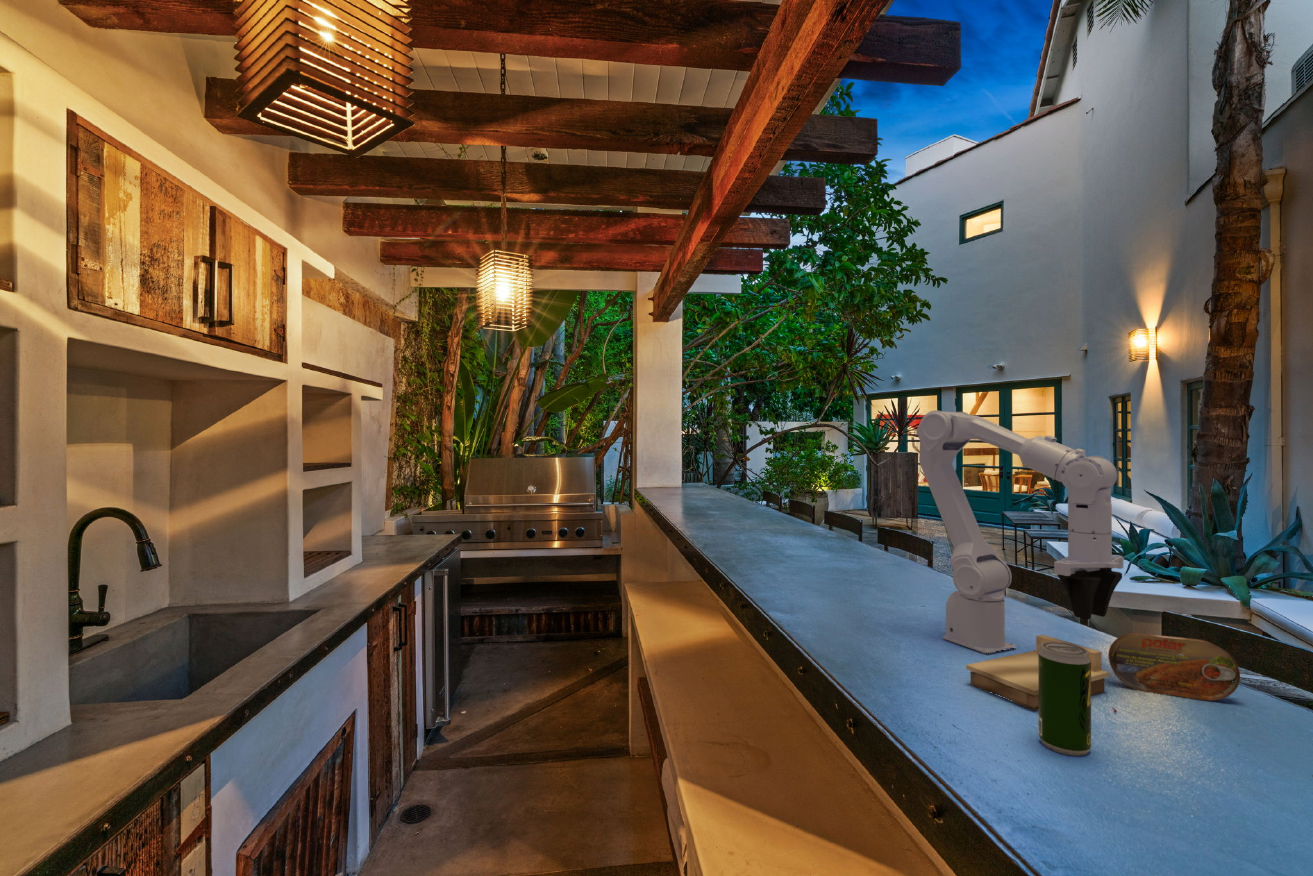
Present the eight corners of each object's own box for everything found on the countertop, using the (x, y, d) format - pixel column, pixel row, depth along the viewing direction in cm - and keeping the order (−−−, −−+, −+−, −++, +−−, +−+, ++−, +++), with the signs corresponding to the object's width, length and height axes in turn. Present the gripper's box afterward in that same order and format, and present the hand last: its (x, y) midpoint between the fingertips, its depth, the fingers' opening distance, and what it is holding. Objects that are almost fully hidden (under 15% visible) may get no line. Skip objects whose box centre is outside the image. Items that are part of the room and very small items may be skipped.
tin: (1110, 687, 93) (1110, 631, 93) (1106, 679, 96) (1106, 626, 96) (1241, 707, 86) (1241, 647, 86) (1233, 698, 89) (1232, 640, 89)
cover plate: (966, 669, 94) (966, 646, 94) (1038, 654, 101) (1038, 632, 101) (1034, 696, 84) (1034, 670, 84) (1108, 677, 91) (1108, 653, 91)
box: (970, 684, 94) (970, 671, 94) (1039, 669, 100) (1038, 657, 100) (1033, 710, 84) (1033, 696, 84) (1104, 691, 91) (1104, 678, 91)
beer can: (1046, 753, 73) (1045, 653, 73) (1033, 733, 78) (1032, 639, 78) (1098, 760, 71) (1098, 658, 71) (1081, 739, 76) (1081, 643, 77)
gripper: (1087, 538, 91) (1087, 628, 91) (1144, 532, 97) (1144, 617, 97) (1041, 531, 98) (1041, 616, 97) (1097, 526, 103) (1097, 606, 103)
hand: (1089, 616), depth 98 cm, fingers open, 3 cm apart
